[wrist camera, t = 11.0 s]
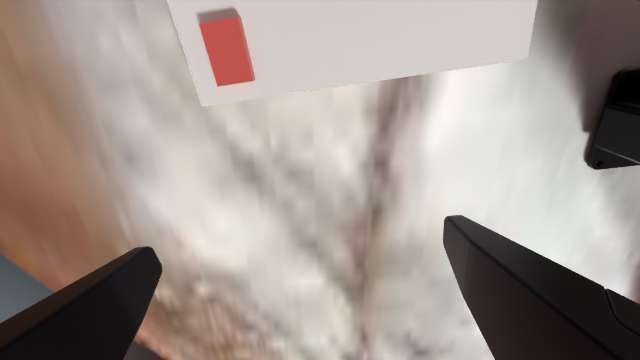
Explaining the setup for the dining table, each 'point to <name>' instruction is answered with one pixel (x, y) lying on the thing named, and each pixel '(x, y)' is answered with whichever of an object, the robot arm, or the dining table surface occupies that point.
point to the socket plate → (340, 41)
